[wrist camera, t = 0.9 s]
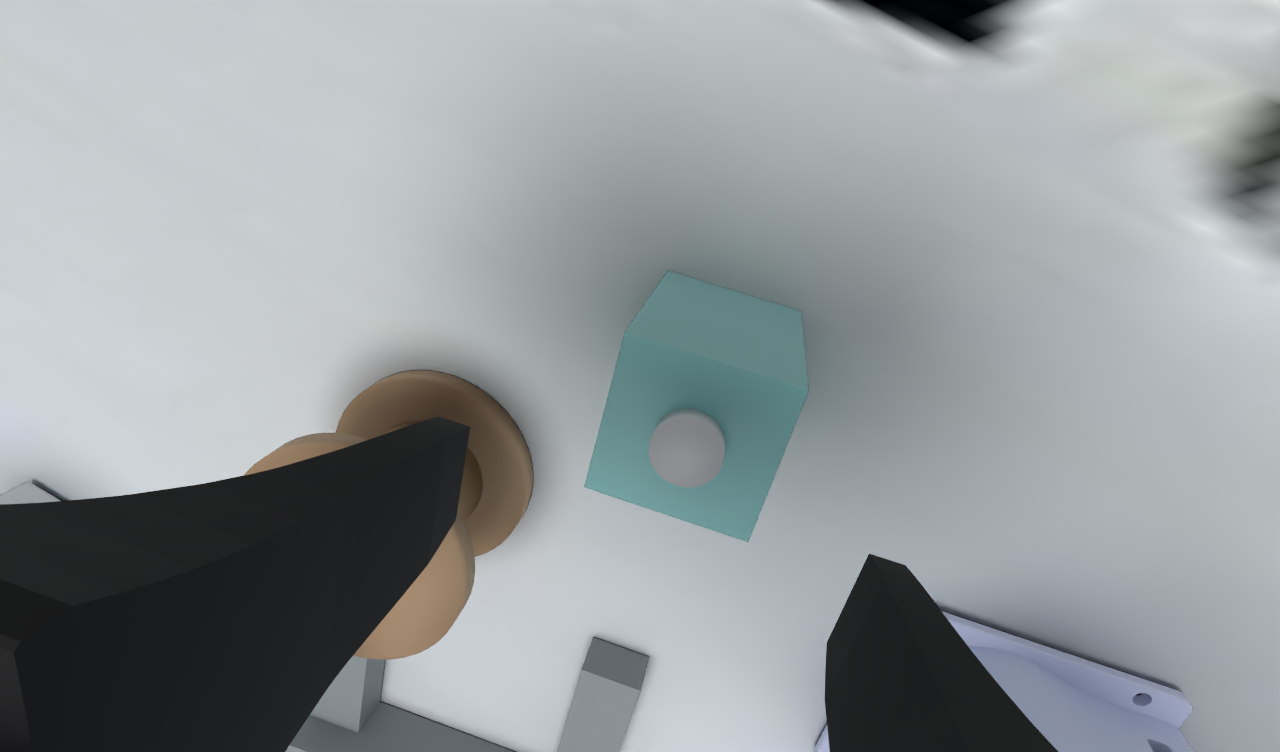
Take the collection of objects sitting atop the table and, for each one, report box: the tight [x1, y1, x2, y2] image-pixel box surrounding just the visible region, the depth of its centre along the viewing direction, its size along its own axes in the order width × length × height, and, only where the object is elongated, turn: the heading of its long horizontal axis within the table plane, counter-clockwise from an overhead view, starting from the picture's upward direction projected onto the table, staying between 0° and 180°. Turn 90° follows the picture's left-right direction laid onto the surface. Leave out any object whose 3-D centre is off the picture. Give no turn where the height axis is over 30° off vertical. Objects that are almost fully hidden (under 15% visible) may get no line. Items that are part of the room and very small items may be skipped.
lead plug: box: [584, 271, 809, 542], centre depth 17 cm, size 4×4×7 cm
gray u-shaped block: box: [286, 637, 649, 752], centre depth 26 cm, size 12×9×3 cm
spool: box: [244, 370, 533, 659], centre depth 21 cm, size 7×7×6 cm
